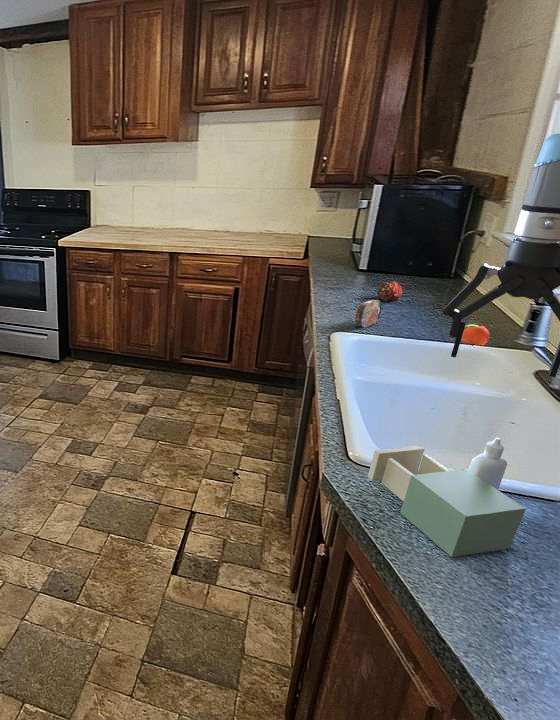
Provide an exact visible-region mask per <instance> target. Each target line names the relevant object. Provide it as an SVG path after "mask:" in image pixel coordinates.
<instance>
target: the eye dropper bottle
mask: <svg viewBox="0 0 560 720" xmlns="http://www.w3.org/2000/svg"><path fill="white" fill-rule="evenodd" d="M504 450H505V447H504V446H503V444H501V438H500V437H497V436H496V437H495V438H494V439H493V440H492V441H488V442H486V444H485V448H484V450H483V452H482V453H480V454H477V455H476V456H474V457H473V458H472V460H471V461H470V463H469V466H468V469H467V470H468V471H470V472H471V473H473V474H474V475H476V476H477V477H479V478H480V479H482V480H483V481H485V482H487V483H488V484H490V485H491V486H493V487H494V488H496V489H497V490H499V489H500V486H501V484H502V481H503V478H504V475H505V473H506V470H507V467H508V461H507V460H506V459H505V458H504V457H502V455H503V453H504Z"/></svg>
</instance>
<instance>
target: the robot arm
mask: <svg viewBox="0 0 560 720" xmlns="http://www.w3.org/2000/svg"><path fill="white" fill-rule="evenodd" d="M532 168H533V169H532V172H531V175H530V179H529V182H528V186H527V190H526V193H525V196H524V199H523V204H522V205H521V209H520V212H519V215H518V217H517V222H516V225H515V228H514V231H513V234H514V236H515V238H513V239H512V240H510V244H509V247H508V250H507V253H506V256H505V260H504V263H503V264H502V266H501V267H496V266H492V265H489V264H488V263H482V264H481V265H480V266H479V267H478V270H477V273H476V274H475V276H474V277H473V278H472V279H471V280H470V281H469V282H468V283H467V284H466V285H464V287H463V288H462V289H461V290H460V291H459V292H458V293H457V294H456V295H455V296H454V298H452V299H451V301H449V303H447V305H445V307H444V309H443V310H442V314H443V315H445V316H448V317H450V318H452V323H451V326H450V330H449V337H450V338H455V340H454V344H453V346H452V351H451V355H450V358H457V355H458V352H459V348H460V346H461V342H462V340H463V339H462V335H463V332H464V330H465V329H466V327H465V326H467V321H468V318H467V317H468V316H470V315H471V314H473V313H475V312H476V311H478V310H479V309H481V308H483V307H484V306H486V305H488V304H489V303H491V302H492V301H494V300H496V299H497V298H501V296H503V295H505V294H507V295H509V296H510V297H512V298H526V299H528V300H535V301H536V300H539V299H541V298H543V299H544V301H545V302H546V304H547V305H548V306H549V308H550V309H551V311H552V313H554V315H555V317H556V318H557V319H558V321H559V322H560V300H559V299H558V297H557V295H556V294H555V292H554V290H556V289H557V288H559V287H560V133H553V134H551V135H549V136H548V137H547V138H545V140H544V141H543V143H542V146H541V148H540V152H539V154H538V157H537V158H536V162H535V164H534V165H533V167H532ZM493 276H497V278H498V280H499V282H500V284H498V285H497V286H495V287H494V288H492V289H491V290H489V291H487V292H486V293H485V294H483V295H480V297H478V298H477V299H475V300H473V301H471V302H470V303H468V304H467V305H465V306H464V307H462V308H461V309H459V310H458V309H457V308H458V307H459V306H460V305H461V304H462V303H463V302H464V301H465V300H466V299H467V298H468V297H469V296H470V295H471V294H472V293H473V292H474V291H475V290H476V289H477V288H478V287H479V286H480V285H481V284H482V283H483V281H484V280H489V279H491V277H493ZM552 358H553V359H552V361H551V363H550V367H549V369H548V376H549V377H552V378H556V377H557V373H558V371H559V368H560V341H559V342H558V345H557V348H556V351H555V353H554V356H553V357H552Z"/></svg>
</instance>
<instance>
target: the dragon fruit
mask: <svg viewBox="0 0 560 720" xmlns="http://www.w3.org/2000/svg"><path fill="white" fill-rule="evenodd" d="M376 294H377V295H378V296H379V297H380V298H381V300H383V301H385V302H390V301H393V302H394V301H395V302H397V301H398V300H399V297H401V296H402V295H403V289H402V286H401V285H400V284H399V283H398V282H397V281H387V282H385V283H380V285H379V288H378V291H377V292H376Z"/></svg>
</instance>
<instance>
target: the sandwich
mask: <svg viewBox="0 0 560 720" xmlns="http://www.w3.org/2000/svg"><path fill="white" fill-rule="evenodd" d="M381 312H382V302H381V300H378V299H369V300H367V301H365V302H362V303H360V304H359V305H358V306H357V309H356V311H355V320H354V325H355V326H356V327H360V328H364V329H365V328H368V327H369V326H372V325H374V324H376V323H377V322H378V320H379V318H380V317H381V316H380V315H381Z"/></svg>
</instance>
